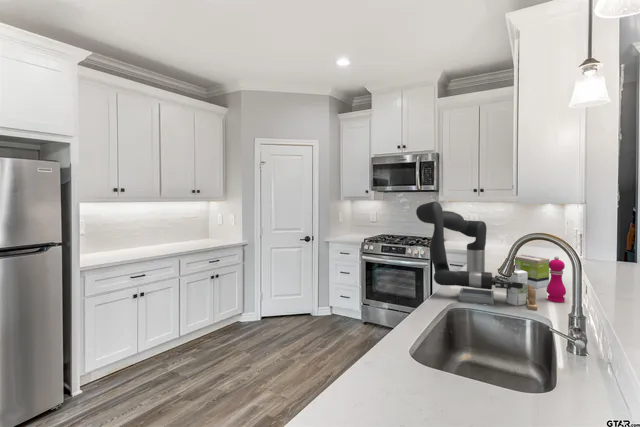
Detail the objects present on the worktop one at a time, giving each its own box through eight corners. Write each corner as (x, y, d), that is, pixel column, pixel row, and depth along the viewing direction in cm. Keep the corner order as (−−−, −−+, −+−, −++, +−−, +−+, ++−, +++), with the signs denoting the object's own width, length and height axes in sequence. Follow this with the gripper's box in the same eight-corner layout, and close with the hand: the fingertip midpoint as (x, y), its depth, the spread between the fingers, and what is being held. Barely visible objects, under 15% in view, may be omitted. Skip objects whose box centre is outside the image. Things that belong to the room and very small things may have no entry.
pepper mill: (559, 298, 160) (560, 254, 159) (569, 303, 153) (570, 257, 152) (543, 298, 160) (543, 254, 160) (551, 302, 153) (552, 257, 152)
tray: (461, 293, 169) (461, 287, 169) (493, 297, 163) (493, 290, 163) (458, 301, 157) (458, 295, 157) (493, 305, 150) (493, 298, 150)
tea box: (509, 282, 190) (510, 255, 189) (522, 280, 194) (522, 254, 193) (537, 289, 176) (537, 259, 176) (549, 286, 180) (550, 258, 180)
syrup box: (515, 301, 157) (515, 268, 156) (527, 304, 151) (527, 271, 150) (505, 302, 155) (506, 269, 154) (517, 306, 149) (517, 272, 148)
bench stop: (525, 300, 157) (526, 283, 157) (533, 301, 156) (533, 284, 156) (528, 309, 145) (528, 291, 144) (537, 310, 143) (537, 292, 143)
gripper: (480, 275, 152) (523, 278, 145) (481, 268, 165) (520, 271, 158) (479, 292, 152) (523, 296, 145) (480, 284, 165) (520, 288, 158)
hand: (521, 283), depth 152 cm, fingers closed on syrup box, 8 cm apart
